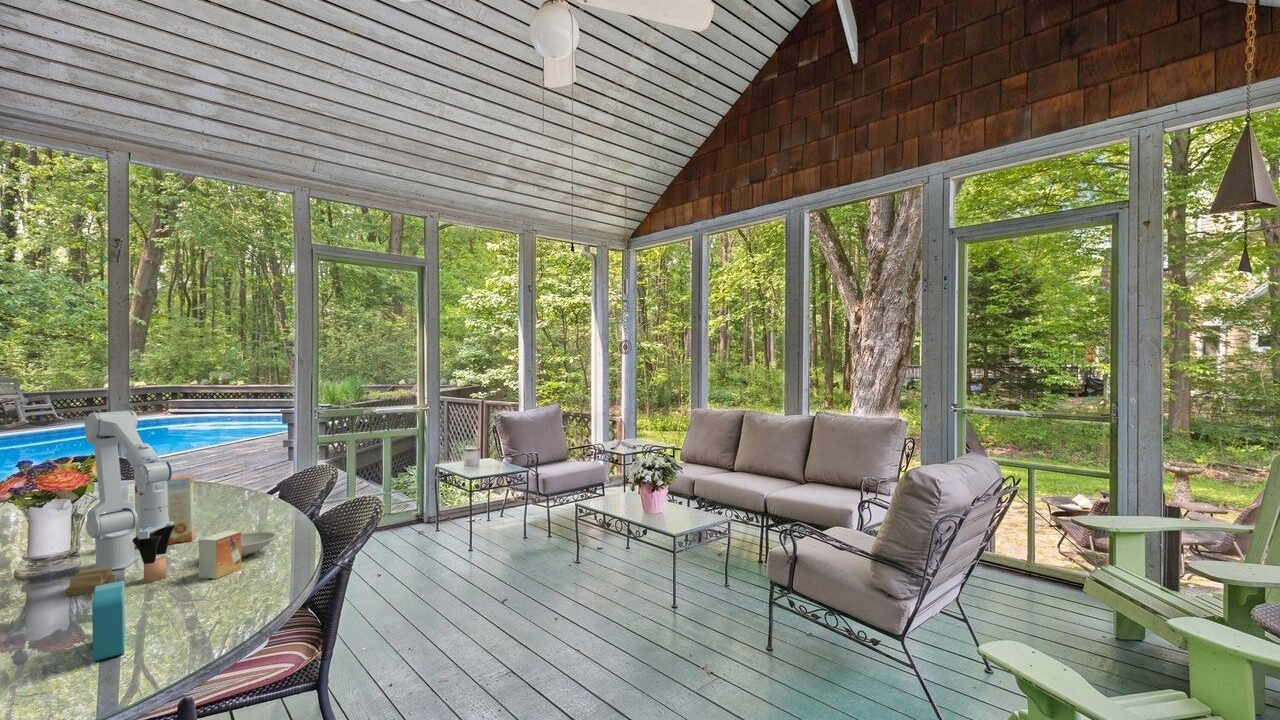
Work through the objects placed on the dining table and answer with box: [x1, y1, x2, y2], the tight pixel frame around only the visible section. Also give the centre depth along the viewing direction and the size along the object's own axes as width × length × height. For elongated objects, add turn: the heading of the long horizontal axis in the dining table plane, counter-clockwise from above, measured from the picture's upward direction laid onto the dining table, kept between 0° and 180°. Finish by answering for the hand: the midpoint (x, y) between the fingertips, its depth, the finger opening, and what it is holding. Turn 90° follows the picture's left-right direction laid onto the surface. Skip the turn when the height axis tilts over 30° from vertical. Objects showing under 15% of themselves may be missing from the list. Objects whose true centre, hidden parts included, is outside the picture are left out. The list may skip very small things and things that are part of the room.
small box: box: [198, 530, 242, 580], centre depth 157 cm, size 8×6×10 cm
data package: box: [91, 580, 126, 662], centre depth 117 cm, size 12×4×12 cm, turn 41°
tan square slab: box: [65, 574, 116, 598], centre depth 148 cm, size 7×7×2 cm
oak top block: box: [69, 567, 113, 588], centre depth 148 cm, size 6×6×2 cm
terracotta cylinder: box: [143, 557, 168, 584], centre depth 153 cm, size 5×5×5 cm
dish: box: [241, 531, 278, 558], centre depth 171 cm, size 18×14×5 cm
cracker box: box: [134, 474, 196, 550], centre depth 184 cm, size 14×6×21 cm, turn 121°
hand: (155, 558), depth 153 cm, fingers open, 7 cm apart
